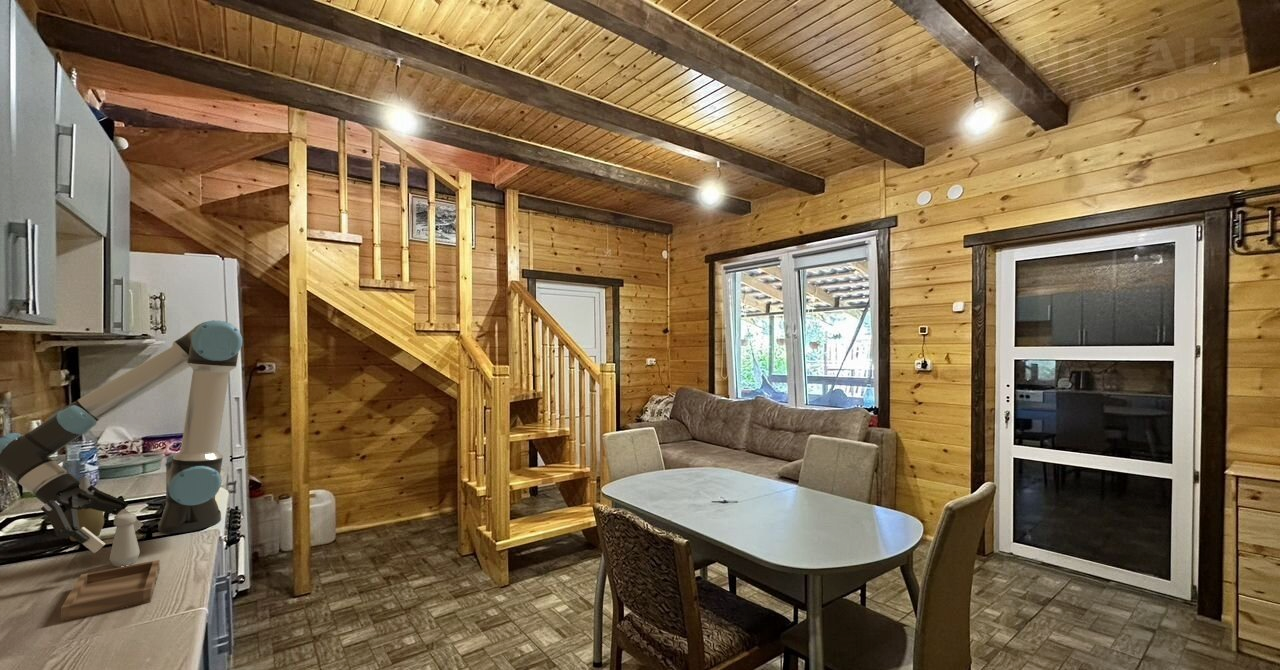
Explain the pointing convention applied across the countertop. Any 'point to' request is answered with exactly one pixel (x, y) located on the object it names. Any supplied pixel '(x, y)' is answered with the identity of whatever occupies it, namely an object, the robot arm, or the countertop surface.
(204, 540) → the countertop surface
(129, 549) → the salt shaker
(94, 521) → the squeeze bottle
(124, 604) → the walnut tray
